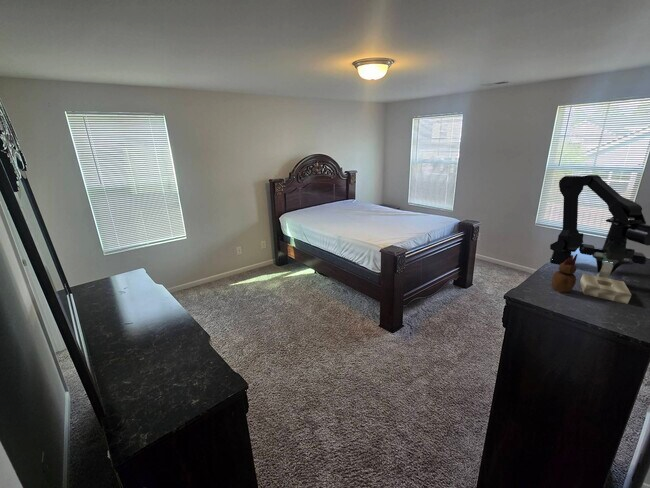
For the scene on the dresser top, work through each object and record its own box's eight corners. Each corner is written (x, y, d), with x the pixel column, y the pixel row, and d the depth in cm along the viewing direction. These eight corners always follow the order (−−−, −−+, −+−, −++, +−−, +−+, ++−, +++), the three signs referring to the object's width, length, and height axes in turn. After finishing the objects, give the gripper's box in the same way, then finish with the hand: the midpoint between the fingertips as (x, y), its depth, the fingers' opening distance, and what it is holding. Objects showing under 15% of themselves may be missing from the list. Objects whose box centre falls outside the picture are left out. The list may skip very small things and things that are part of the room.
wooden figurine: (567, 288, 116) (579, 252, 110) (573, 295, 110) (586, 258, 105) (547, 285, 118) (558, 250, 112) (552, 292, 112) (563, 255, 107)
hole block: (583, 294, 111) (586, 285, 110) (579, 282, 121) (582, 273, 119) (627, 304, 105) (631, 294, 104) (619, 290, 114) (623, 281, 113)
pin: (596, 281, 120) (603, 263, 118) (595, 279, 123) (601, 261, 120) (606, 283, 119) (613, 265, 116) (605, 281, 121) (611, 262, 118)
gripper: (588, 237, 113) (576, 274, 118) (658, 247, 103) (641, 288, 109) (585, 229, 121) (573, 265, 127) (649, 238, 112) (633, 276, 117)
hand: (603, 273), depth 120 cm, fingers closed on pin, 3 cm apart
